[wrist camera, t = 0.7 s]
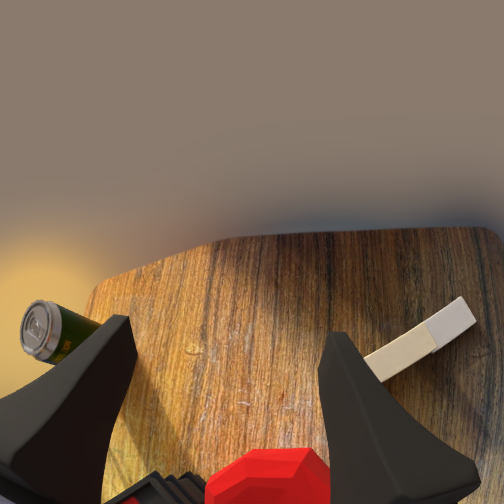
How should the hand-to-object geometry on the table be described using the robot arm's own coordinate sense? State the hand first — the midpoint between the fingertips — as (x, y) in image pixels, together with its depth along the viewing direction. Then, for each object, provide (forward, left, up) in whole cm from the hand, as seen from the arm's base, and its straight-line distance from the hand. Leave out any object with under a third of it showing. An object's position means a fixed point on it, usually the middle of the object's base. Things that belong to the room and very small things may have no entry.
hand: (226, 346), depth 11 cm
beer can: (+10, +17, -17) cm, 26 cm away
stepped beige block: (-2, -10, -17) cm, 20 cm away
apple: (-9, +5, -17) cm, 20 cm away
